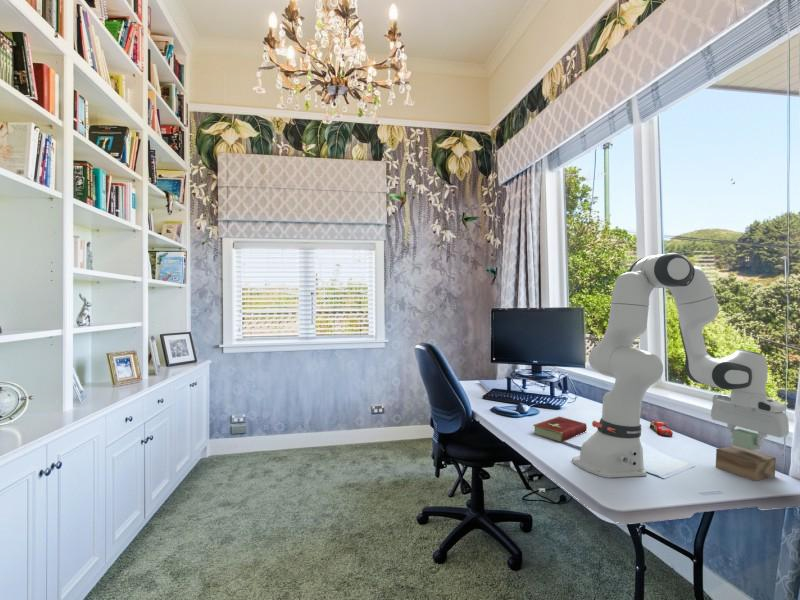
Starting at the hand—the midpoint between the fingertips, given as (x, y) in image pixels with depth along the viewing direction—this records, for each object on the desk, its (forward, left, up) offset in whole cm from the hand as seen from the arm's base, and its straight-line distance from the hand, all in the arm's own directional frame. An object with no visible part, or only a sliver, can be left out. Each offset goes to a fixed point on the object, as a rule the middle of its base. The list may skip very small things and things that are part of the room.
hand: (746, 441), depth 132 cm
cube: (0, 0, -2) cm, 2 cm away
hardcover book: (-32, +48, -10) cm, 59 cm away
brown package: (0, 0, -10) cm, 10 cm away
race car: (+13, +37, -10) cm, 40 cm away
